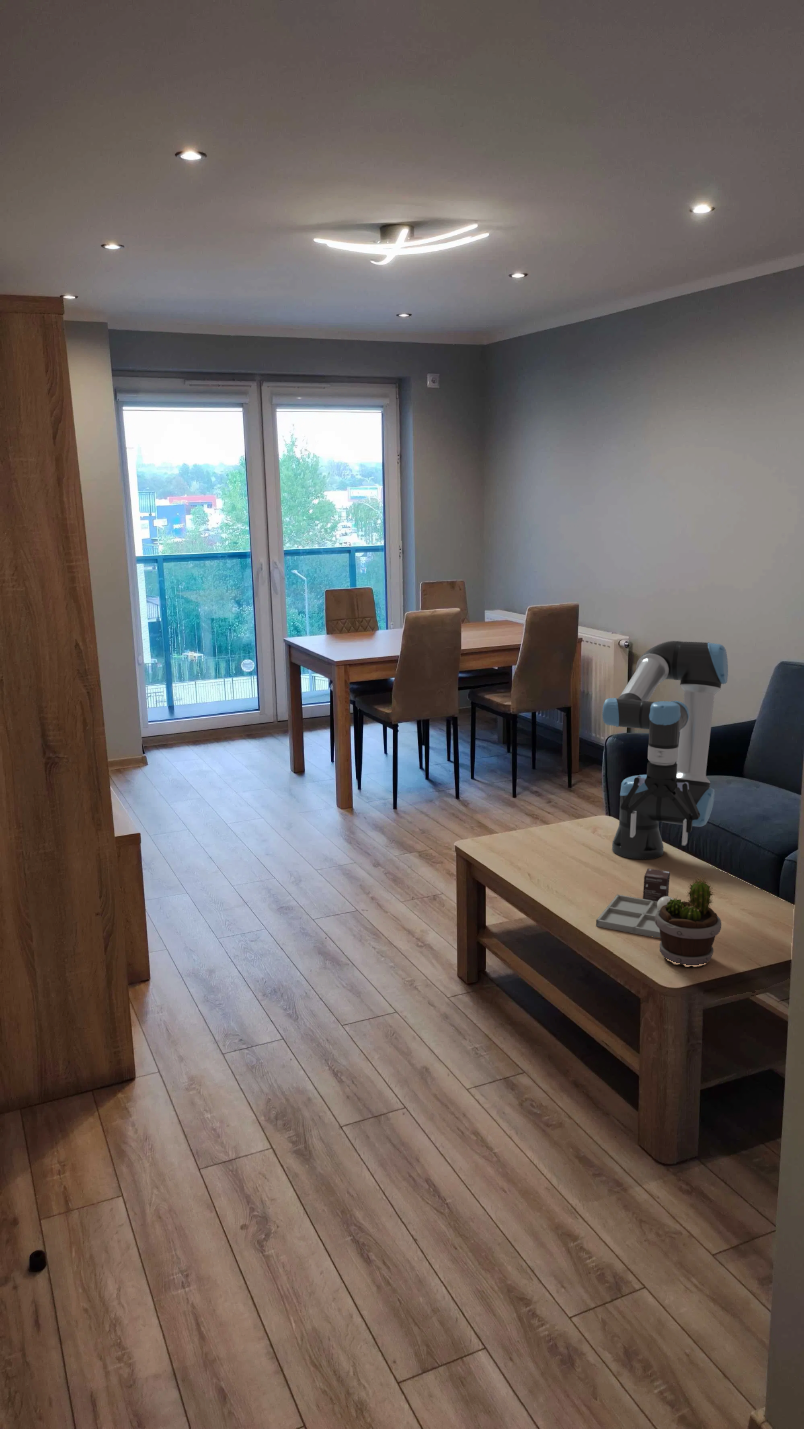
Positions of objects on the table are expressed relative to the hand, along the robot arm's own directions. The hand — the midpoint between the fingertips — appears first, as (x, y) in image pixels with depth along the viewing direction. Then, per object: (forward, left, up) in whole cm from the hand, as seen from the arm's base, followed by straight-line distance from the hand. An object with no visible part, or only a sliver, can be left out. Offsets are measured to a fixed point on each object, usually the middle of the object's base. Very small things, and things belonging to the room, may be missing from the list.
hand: (658, 839), depth 265 cm
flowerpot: (+33, +15, -17) cm, 40 cm away
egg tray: (+15, +1, -17) cm, 22 cm away
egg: (+10, +5, -17) cm, 20 cm away
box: (0, 0, -17) cm, 17 cm away
